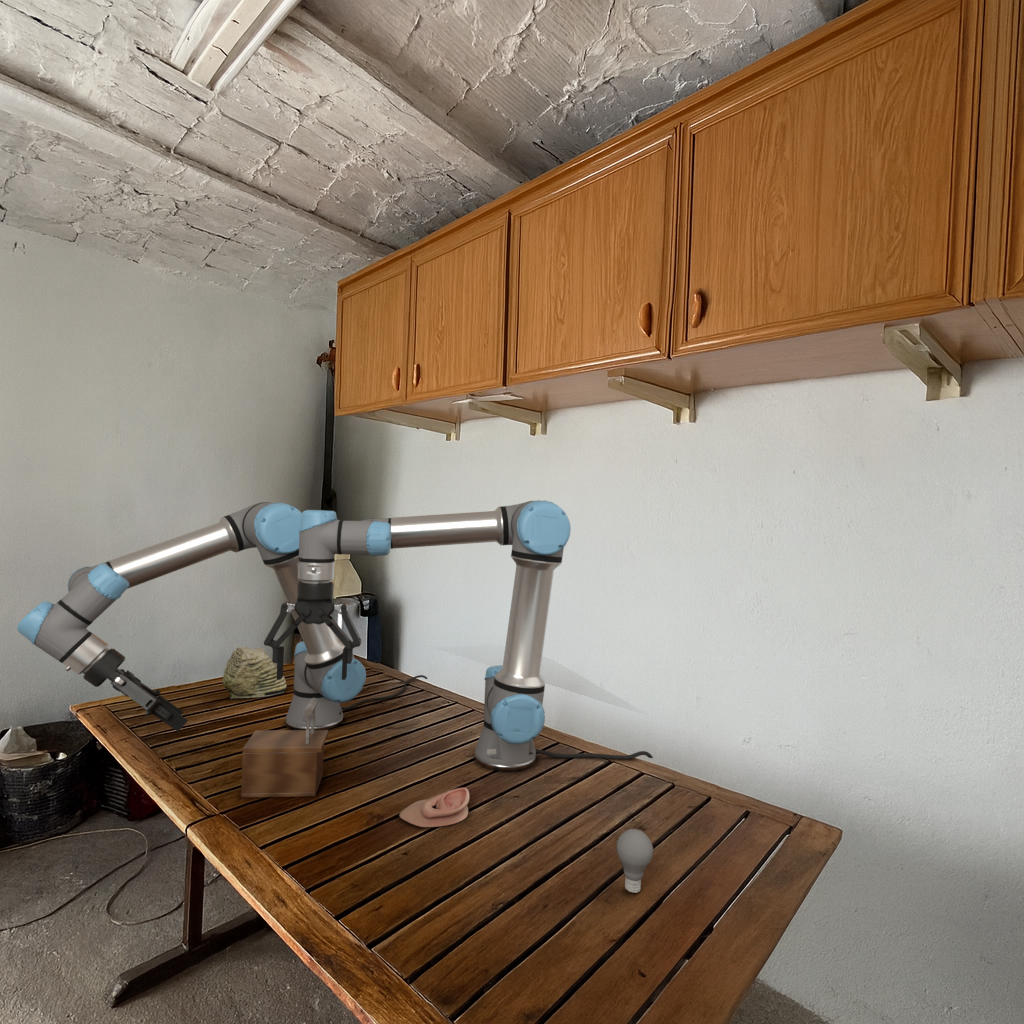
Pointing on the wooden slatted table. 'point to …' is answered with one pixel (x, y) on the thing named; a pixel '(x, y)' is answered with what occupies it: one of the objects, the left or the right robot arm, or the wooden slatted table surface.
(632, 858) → the light bulb
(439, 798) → the anatomical model
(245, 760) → the chest
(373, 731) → the wooden slatted table surface
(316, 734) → the lid
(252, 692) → the fossil
